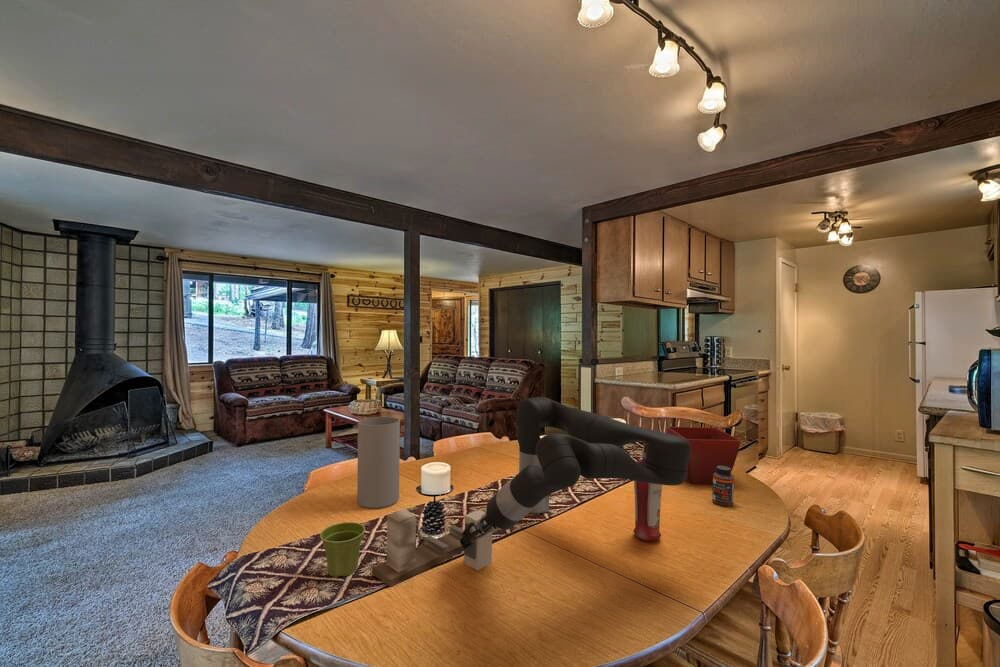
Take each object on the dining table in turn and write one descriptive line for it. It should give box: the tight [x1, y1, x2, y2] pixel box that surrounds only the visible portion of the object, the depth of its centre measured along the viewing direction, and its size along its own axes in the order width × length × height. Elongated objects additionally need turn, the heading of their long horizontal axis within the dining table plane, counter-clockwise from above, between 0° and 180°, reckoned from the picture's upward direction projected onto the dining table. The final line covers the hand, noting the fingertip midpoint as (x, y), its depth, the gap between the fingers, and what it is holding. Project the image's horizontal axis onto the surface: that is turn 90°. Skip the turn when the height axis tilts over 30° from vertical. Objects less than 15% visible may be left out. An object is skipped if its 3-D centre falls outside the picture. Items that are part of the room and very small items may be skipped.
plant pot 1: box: [319, 521, 366, 578], centre depth 97 cm, size 9×9×9 cm
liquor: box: [633, 442, 663, 543], centre depth 114 cm, size 7×7×28 cm
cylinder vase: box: [356, 416, 401, 509], centre depth 136 cm, size 12×12×25 cm
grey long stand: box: [371, 508, 465, 588], centre depth 102 cm, size 24×7×12 cm, turn 138°
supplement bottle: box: [711, 466, 735, 507], centre depth 138 cm, size 6×6×11 cm
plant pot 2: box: [666, 426, 741, 485], centre depth 161 cm, size 19×19×17 cm
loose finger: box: [463, 509, 493, 572], centre depth 101 cm, size 5×4×11 cm
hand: (471, 539), depth 102 cm, fingers closed on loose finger, 5 cm apart
